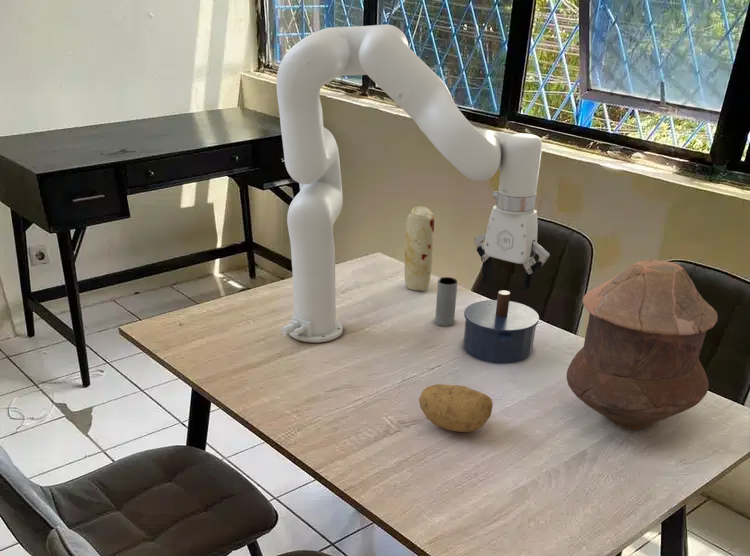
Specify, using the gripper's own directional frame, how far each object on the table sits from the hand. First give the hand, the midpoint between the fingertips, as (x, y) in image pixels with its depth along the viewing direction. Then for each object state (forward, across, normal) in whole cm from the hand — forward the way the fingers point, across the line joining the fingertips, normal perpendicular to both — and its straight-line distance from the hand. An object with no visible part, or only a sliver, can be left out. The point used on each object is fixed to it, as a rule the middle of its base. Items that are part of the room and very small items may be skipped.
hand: (506, 284), depth 166 cm
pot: (+15, 0, 0) cm, 15 cm away
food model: (+15, -35, +18) cm, 42 cm away
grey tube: (+15, -17, +4) cm, 23 cm away
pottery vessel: (+16, +35, -10) cm, 39 cm away
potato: (+15, +11, -35) cm, 40 cm away
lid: (+7, 0, 0) cm, 7 cm away
